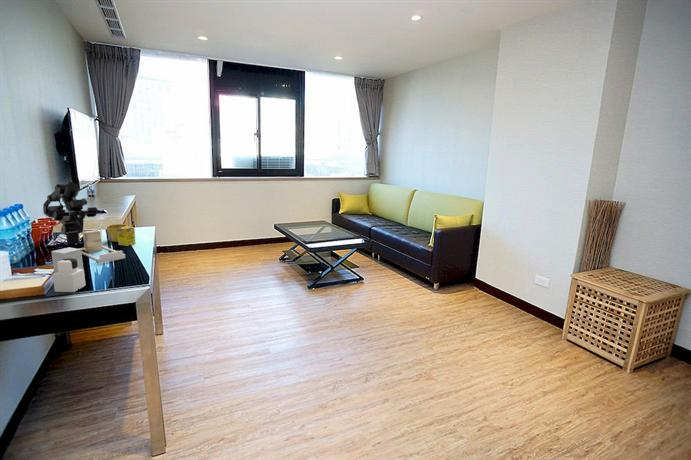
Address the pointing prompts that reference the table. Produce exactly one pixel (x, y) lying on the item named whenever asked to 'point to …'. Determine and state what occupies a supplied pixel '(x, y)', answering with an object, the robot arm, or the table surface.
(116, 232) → the plant pot
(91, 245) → the birch block
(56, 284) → the white stepped block
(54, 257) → the supplement box
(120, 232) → the supplement box
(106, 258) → the tray
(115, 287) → the table surface
